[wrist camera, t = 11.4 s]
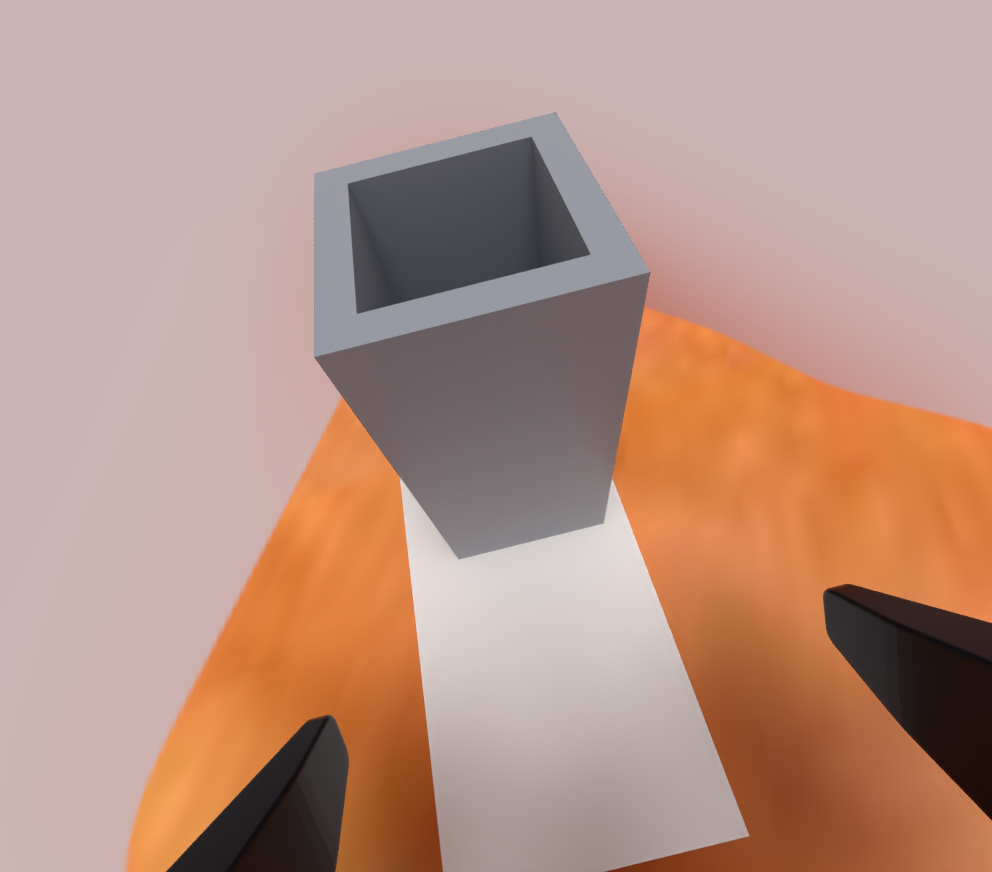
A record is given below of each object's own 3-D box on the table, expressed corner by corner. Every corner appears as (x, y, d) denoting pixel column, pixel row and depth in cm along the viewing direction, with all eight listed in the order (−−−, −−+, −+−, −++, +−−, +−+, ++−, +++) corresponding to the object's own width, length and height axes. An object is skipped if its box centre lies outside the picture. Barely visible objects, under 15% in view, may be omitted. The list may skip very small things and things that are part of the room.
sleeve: (603, 523, 19) (650, 272, 8) (458, 559, 19) (314, 356, 8) (562, 405, 22) (555, 112, 11) (438, 436, 22) (314, 173, 11)
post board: (733, 825, 15) (804, 873, 10) (457, 893, 15) (410, 970, 10) (569, 386, 24) (570, 313, 20) (402, 428, 24) (364, 364, 20)
